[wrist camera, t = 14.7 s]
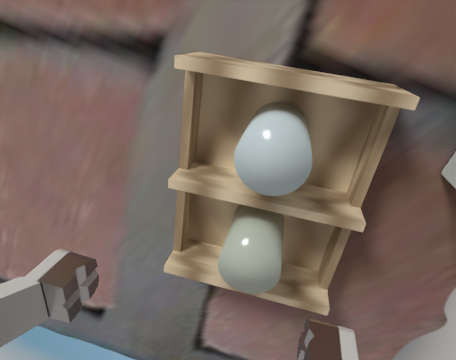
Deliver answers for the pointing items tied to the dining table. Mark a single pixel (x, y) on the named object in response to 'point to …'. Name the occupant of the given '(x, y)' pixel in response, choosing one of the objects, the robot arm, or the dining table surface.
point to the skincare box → (450, 171)
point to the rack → (284, 204)
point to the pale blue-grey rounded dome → (275, 150)
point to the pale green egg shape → (253, 250)
